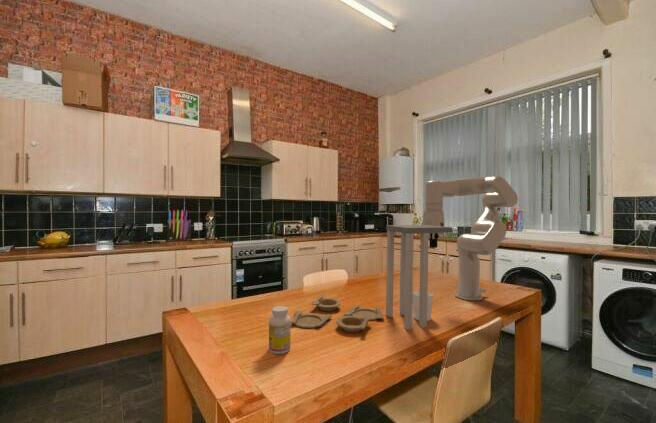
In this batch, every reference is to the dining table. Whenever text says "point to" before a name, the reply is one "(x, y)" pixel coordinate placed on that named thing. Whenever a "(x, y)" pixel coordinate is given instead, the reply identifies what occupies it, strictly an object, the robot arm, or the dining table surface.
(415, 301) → the white cup
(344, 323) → the tableware set
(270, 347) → the supplement bottle
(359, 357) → the dining table surface
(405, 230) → the grey tall stool
